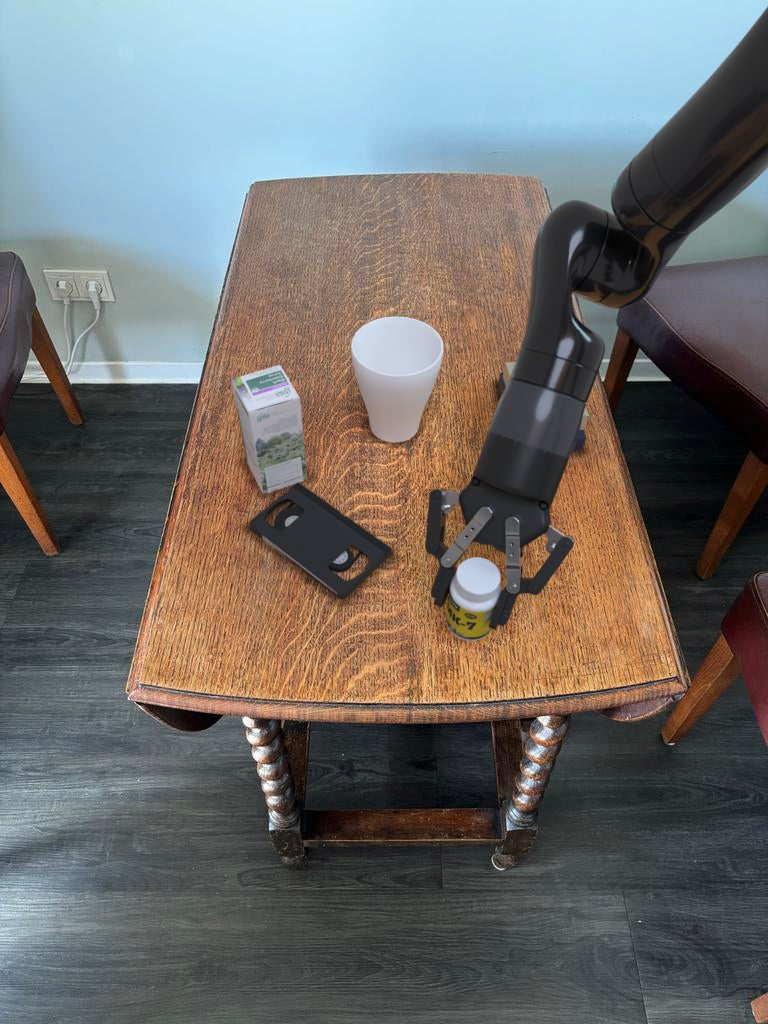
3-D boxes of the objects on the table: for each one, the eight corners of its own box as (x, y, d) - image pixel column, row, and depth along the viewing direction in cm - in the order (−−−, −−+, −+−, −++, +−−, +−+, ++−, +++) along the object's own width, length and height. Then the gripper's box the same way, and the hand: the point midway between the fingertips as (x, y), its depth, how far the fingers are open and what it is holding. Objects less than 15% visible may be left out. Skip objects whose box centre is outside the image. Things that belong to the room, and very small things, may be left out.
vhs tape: (249, 533, 82) (247, 522, 80) (299, 493, 85) (297, 482, 84) (342, 605, 76) (342, 595, 74) (391, 558, 80) (391, 548, 78)
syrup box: (291, 451, 89) (279, 360, 78) (309, 484, 86) (300, 394, 75) (247, 466, 88) (228, 375, 76) (264, 500, 85) (247, 411, 73)
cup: (350, 402, 95) (348, 317, 84) (429, 398, 96) (437, 313, 85) (355, 462, 88) (353, 378, 78) (440, 457, 89) (450, 373, 78)
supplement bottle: (435, 621, 71) (440, 575, 64) (465, 591, 73) (473, 543, 67) (473, 652, 69) (482, 607, 62) (503, 620, 71) (515, 573, 65)
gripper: (445, 412, 62) (384, 594, 65) (608, 467, 59) (535, 657, 61) (462, 417, 69) (406, 581, 72) (609, 467, 66) (544, 637, 69)
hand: (466, 615), depth 67 cm, fingers closed on supplement bottle, 4 cm apart
